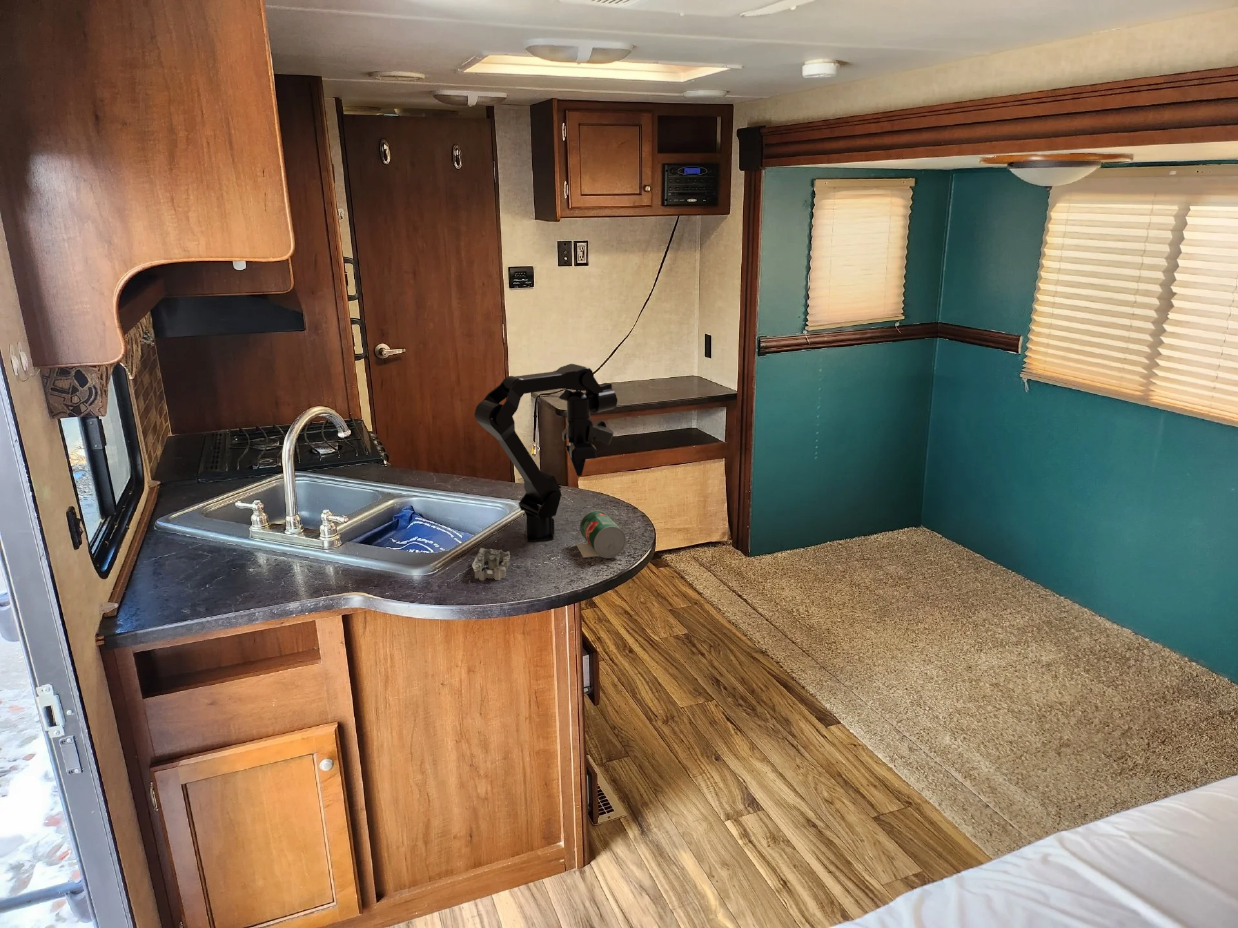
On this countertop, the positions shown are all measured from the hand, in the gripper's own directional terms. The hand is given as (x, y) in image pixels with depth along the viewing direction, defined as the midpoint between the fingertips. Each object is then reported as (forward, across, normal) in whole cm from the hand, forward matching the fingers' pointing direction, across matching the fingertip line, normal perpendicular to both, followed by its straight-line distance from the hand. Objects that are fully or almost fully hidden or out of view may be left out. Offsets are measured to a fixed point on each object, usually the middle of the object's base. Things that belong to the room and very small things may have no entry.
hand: (579, 475), depth 210 cm
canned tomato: (+9, -12, -2) cm, 15 cm away
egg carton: (+13, -24, +24) cm, 36 cm away
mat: (+13, -17, -2) cm, 22 cm away
